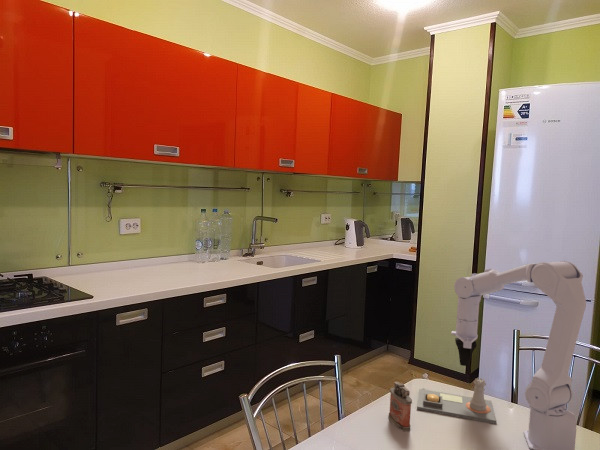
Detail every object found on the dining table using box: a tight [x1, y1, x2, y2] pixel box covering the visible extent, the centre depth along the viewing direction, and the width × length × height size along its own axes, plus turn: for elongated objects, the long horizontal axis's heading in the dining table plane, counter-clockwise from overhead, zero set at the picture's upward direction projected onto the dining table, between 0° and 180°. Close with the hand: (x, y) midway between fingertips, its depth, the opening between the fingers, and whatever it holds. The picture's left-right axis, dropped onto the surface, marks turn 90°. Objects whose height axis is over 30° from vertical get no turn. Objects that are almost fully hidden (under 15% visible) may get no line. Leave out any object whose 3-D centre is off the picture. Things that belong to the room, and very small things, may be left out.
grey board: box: [416, 388, 497, 425], centre depth 123 cm, size 20×12×2 cm, turn 72°
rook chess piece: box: [469, 377, 487, 411], centre depth 120 cm, size 4×4×8 cm
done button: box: [427, 394, 439, 403], centre depth 123 cm, size 3×3×2 cm
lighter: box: [388, 381, 413, 432], centre depth 112 cm, size 8×3×10 cm, turn 17°
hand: (464, 364), depth 126 cm, fingers closed
